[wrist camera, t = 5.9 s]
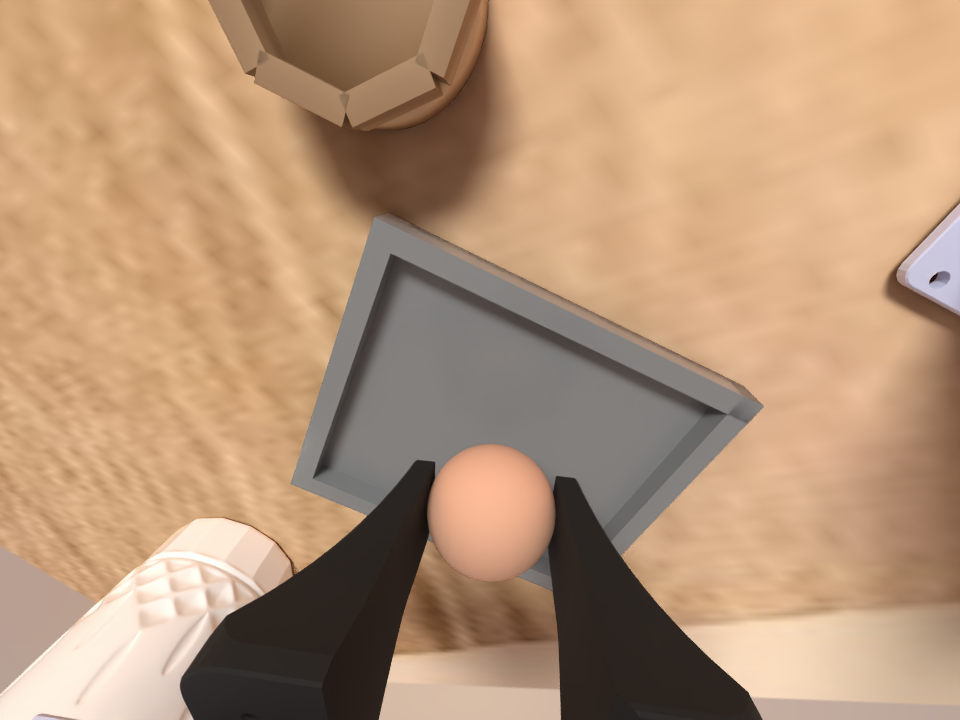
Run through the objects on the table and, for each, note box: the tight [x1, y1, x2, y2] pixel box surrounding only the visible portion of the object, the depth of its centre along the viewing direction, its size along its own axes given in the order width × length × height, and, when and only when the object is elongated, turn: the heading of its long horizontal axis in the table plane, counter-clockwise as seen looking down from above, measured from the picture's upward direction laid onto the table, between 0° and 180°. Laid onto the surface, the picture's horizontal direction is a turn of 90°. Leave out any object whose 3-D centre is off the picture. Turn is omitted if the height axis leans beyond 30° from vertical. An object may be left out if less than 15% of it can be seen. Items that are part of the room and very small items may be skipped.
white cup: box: [0, 518, 293, 720], centre depth 18 cm, size 8×8×10 cm
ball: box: [427, 444, 556, 582], centre depth 12 cm, size 4×4×4 cm
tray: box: [291, 213, 764, 591], centre depth 16 cm, size 14×12×1 cm
